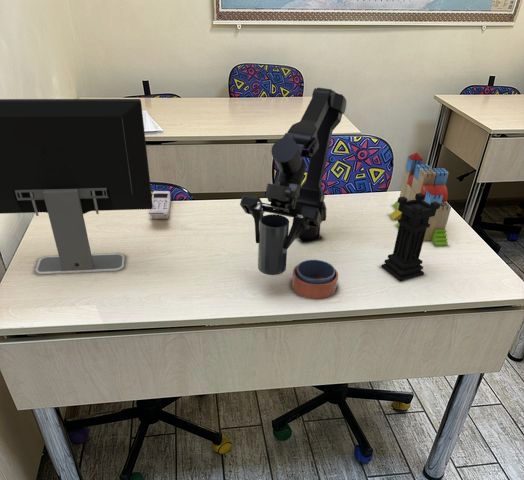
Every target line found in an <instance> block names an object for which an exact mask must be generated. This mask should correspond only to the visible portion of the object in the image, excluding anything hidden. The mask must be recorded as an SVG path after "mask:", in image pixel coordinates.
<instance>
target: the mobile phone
mask: <svg viewBox="0 0 524 480" xmlns="http://www.w3.org/2000/svg"><path fill="white" fill-rule="evenodd" d="M151 195H152V204H153V207H152V209H149V211H146V213H147V214H149V215H150V218H151V219H155V220H158V219H159V220H160V219H162V220H163V219H164V220H165V219H166V220H167V219H168V218H169V214H170V209H171V191H170V190H168V191H167V190H153V191H152V194H151Z"/></svg>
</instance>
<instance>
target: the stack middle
mask: <svg viewBox="0 0 524 480" xmlns="http://www.w3.org/2000/svg"><path fill="white" fill-rule="evenodd" d="M298 264H299V265H298ZM298 264H297V265H298V266H297V265H296V266H297V272H296V276H297V277H298V278H299V279H300V280H302V281H304V282H307V283H310V284H326V283H329V282H331V281H333V280H334V277H335V269H336V268H335V267H334V266H333V264H331V263H329V262H327V261H325V260H320V259H307V260H304V261H301V262H300V263H298ZM334 268H335V269H334ZM307 275H309V276H307ZM314 276H315V277H316V276H321V277H322V278H324V279H322V278H321V279H320V277H319V279H312V277H313V278H315V277H314ZM309 277H311V278H309ZM316 278H318V277H316Z"/></svg>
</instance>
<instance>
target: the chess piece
mask: <svg viewBox="0 0 524 480" xmlns="http://www.w3.org/2000/svg"><path fill="white" fill-rule="evenodd" d="M424 197H425V195H424V194H422V193H418V194H416V195H415V199H416V200H415V199H414V200H409V201H407V198H405V197H400V196H399V197H398V198H397V201H398V203H399V208H398V210H399V211H400V212H402V215H401V219H398V220H397V223H400V224H399V228H398V230H397V233H396V237H395V241H394V242H395V243H394V247H393V251H392V253H390V254H388V255H387V259H384V263H382V264H381V266H380V268H382V269H383V270H384V271H386V272H387V273H388V274H389V275H391V276H392V277H393V278H394V279H396V280H397V281H398V282H404V281H408V280H410V279H415V278H417V277H420V276H421V277H422V276H424V274H425V271H424V270H423V269H424V266H423V265H422V264H423V260H422V259H420V256H421V251H422V248H423V244H424V241H423V240H424V237H425V233H426V229H427V228H429V227H430V224H429V223H428V222H429V218H430V217H432V216H435V213H436V210H437V209H439V208H440V203H438V202H431V205H430V204H429V203H427V202H425V201H423V200H424Z"/></svg>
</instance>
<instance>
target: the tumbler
mask: <svg viewBox="0 0 524 480" xmlns="http://www.w3.org/2000/svg"><path fill="white" fill-rule="evenodd" d="M289 232H290V220H289V218H287V216H283V215H278V214H273V213H270V214H265V215H263V217H261V218H260V220H259V243H258V244H257V245H258V246H257V247H258V248H257V249H258V250H257V269H258V270H259V272H260V273H262V274H264V275H267V276H277V275H282V274H283V273H285V272H286V270H287V260H288V249H287V250H285V244H286V240H287V238H288V235H289Z"/></svg>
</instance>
